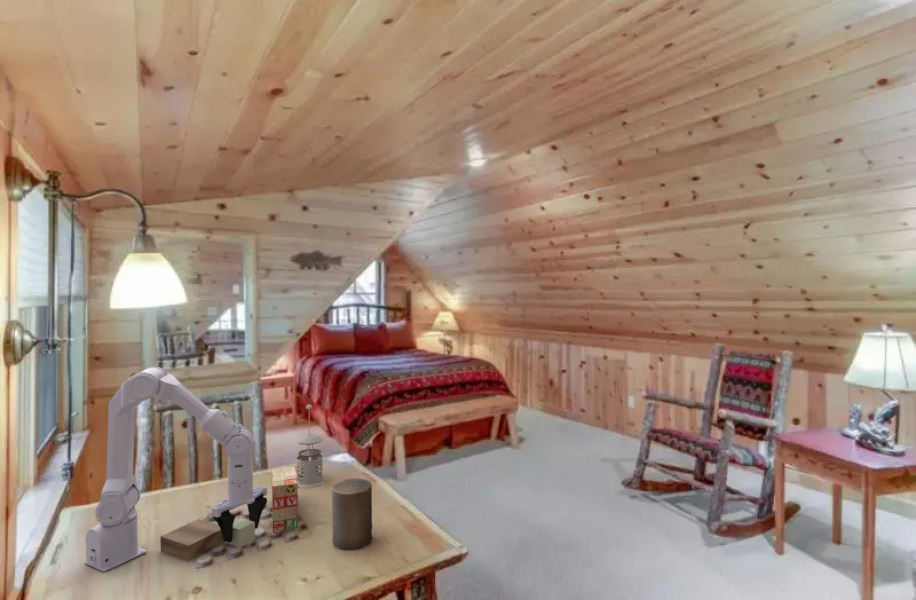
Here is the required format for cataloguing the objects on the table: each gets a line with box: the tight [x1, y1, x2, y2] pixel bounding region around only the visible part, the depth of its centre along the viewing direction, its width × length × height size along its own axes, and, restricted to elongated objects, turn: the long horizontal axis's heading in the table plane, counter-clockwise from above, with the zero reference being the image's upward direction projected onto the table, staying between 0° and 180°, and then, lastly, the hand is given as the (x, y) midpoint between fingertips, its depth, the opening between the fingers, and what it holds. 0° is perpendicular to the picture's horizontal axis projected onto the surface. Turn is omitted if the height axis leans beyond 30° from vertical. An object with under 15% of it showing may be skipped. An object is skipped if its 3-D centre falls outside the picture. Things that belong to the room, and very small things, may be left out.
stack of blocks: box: [271, 466, 299, 533], centre depth 141 cm, size 21×6×12 cm, turn 21°
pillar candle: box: [331, 478, 374, 551], centre depth 126 cm, size 10×10×15 cm
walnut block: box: [160, 518, 227, 562], centre depth 123 cm, size 10×10×4 cm
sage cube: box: [226, 517, 256, 548], centre depth 125 cm, size 4×4×4 cm
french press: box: [295, 404, 326, 489], centre depth 164 cm, size 10×12×25 cm
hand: (241, 534), depth 125 cm, fingers open, 7 cm apart
